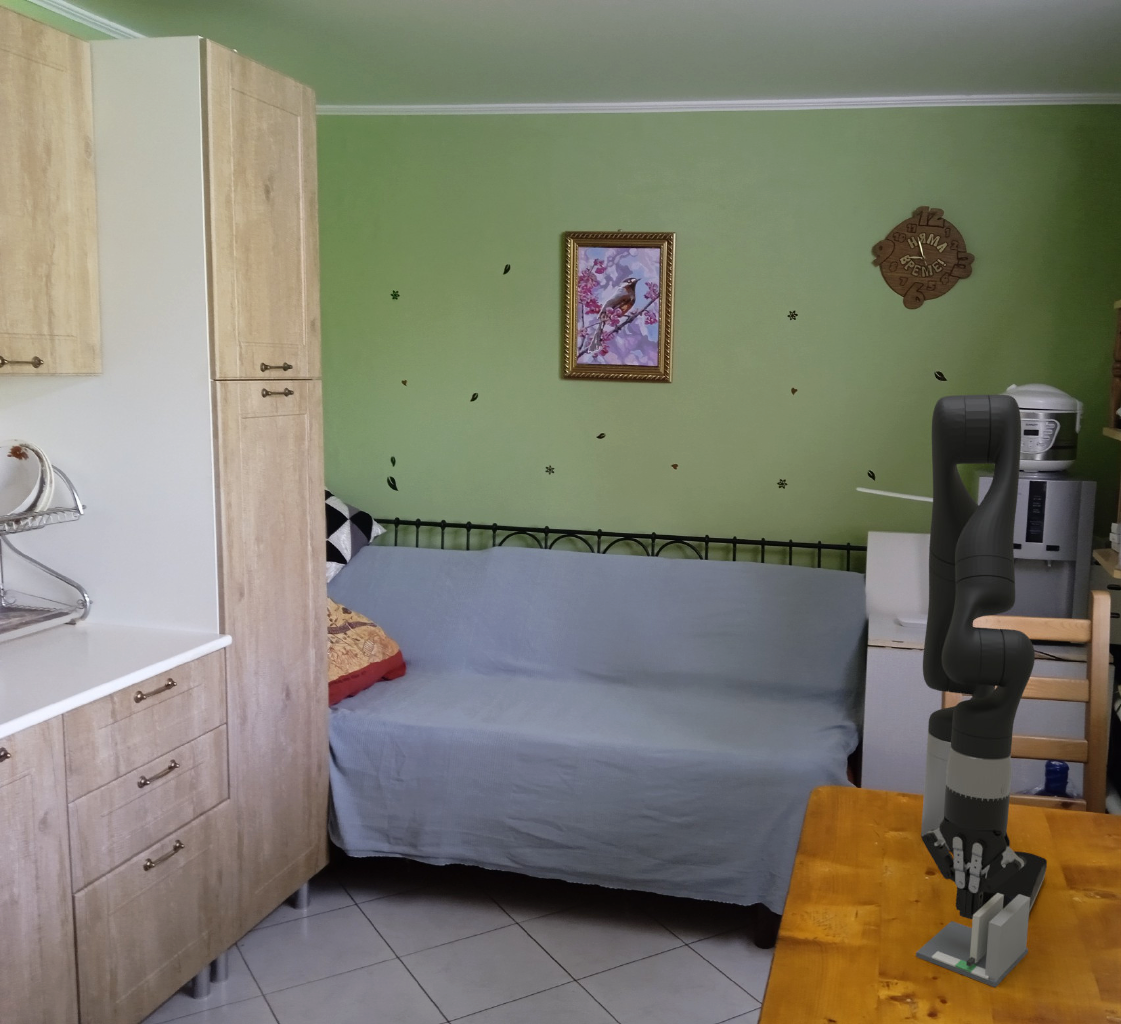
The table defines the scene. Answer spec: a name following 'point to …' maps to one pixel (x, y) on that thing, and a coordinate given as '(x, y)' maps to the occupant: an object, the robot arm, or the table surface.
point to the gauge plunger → (983, 927)
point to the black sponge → (1019, 879)
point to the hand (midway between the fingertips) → (967, 915)
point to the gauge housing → (1001, 948)
